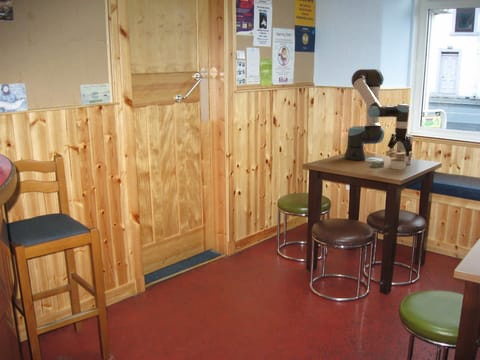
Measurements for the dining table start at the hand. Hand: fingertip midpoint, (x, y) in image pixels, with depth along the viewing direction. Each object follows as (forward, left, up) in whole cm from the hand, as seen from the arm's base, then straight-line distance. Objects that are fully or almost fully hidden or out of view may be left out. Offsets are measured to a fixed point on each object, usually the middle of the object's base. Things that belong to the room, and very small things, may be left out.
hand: (398, 159), depth 345 cm
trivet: (-10, -9, -6) cm, 15 cm away
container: (-9, +15, -6) cm, 19 cm away
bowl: (0, 0, -6) cm, 6 cm away
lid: (0, 0, +2) cm, 2 cm away
